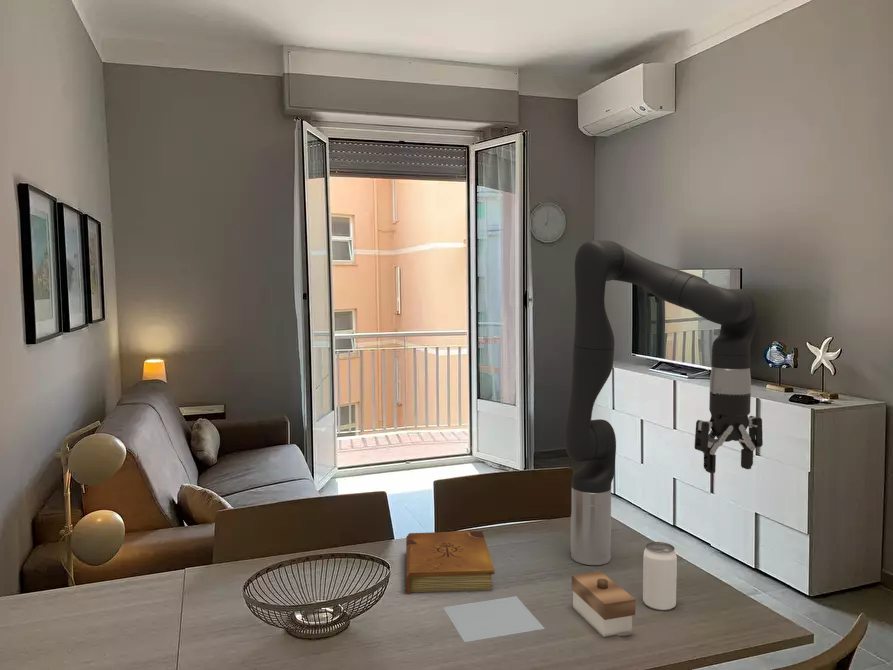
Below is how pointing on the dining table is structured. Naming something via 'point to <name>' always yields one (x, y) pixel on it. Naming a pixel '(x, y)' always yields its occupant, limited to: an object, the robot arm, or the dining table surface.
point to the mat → (492, 619)
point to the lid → (603, 595)
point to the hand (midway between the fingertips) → (728, 470)
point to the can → (659, 576)
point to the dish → (602, 620)
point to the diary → (447, 562)
